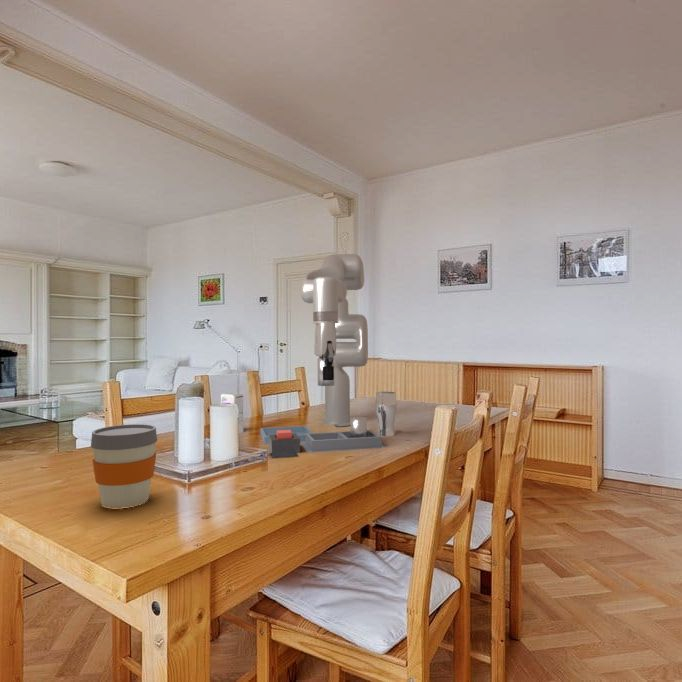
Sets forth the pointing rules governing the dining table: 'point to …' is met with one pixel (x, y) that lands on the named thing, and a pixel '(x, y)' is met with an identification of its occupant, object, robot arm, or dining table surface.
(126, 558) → the dining table surface
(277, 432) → the button
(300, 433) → the tray
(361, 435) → the seated billet
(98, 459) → the reusable coffee cup
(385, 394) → the beer glass
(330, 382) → the billet
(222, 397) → the syrup box
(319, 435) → the grey divided tray
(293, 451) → the box
